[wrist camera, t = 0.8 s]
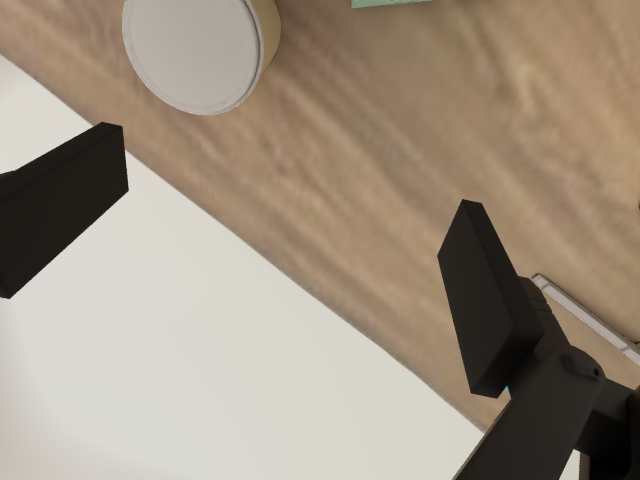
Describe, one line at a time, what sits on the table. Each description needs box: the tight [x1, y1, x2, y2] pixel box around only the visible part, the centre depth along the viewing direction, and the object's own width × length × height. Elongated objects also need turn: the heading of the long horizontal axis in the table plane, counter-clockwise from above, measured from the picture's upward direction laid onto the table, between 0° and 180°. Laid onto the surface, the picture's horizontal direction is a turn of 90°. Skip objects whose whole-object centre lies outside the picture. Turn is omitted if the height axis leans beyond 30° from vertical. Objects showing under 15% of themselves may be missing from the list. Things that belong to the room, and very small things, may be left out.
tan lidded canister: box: [122, 0, 281, 115], centre depth 30 cm, size 9×9×12 cm
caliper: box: [532, 275, 640, 366], centre depth 47 cm, size 20×1×6 cm, turn 57°
